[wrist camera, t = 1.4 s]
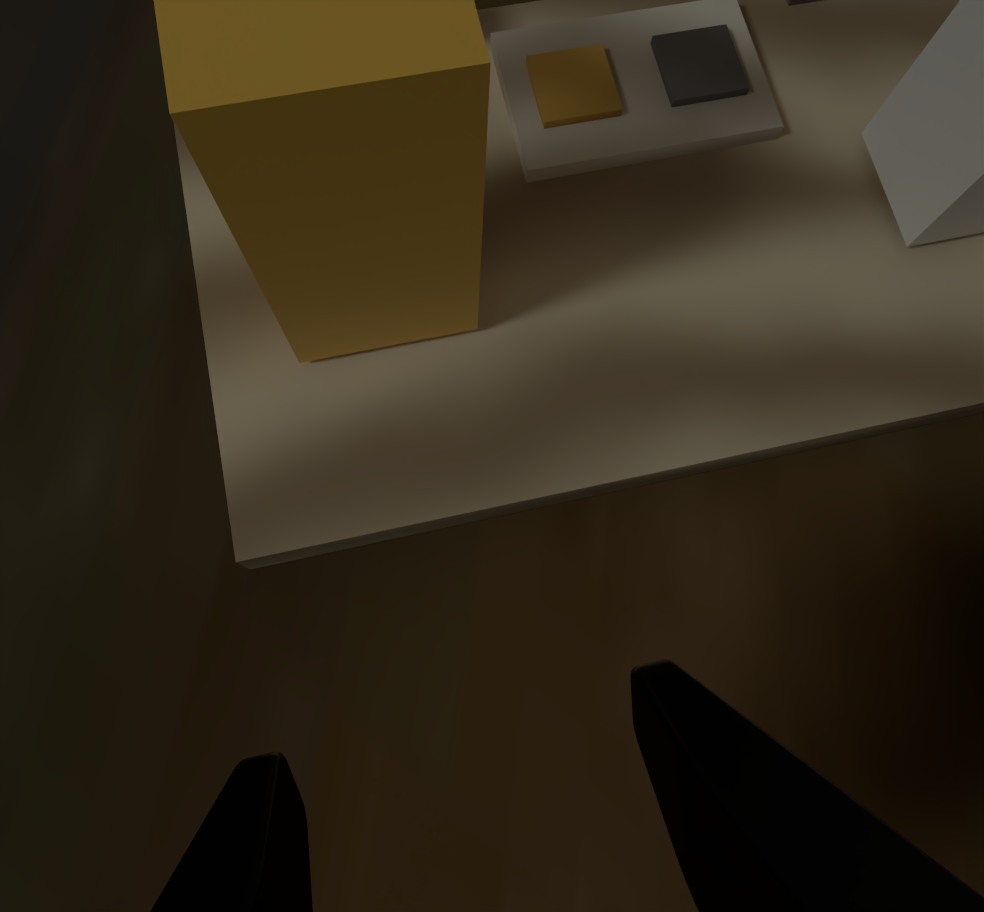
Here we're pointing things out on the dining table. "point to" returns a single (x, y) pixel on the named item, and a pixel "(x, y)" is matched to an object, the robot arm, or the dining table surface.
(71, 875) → the dining table surface
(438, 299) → the large amber box
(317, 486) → the key board
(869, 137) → the white tall rectangular block
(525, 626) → the dining table surface
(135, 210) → the dining table surface
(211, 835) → the robot arm
